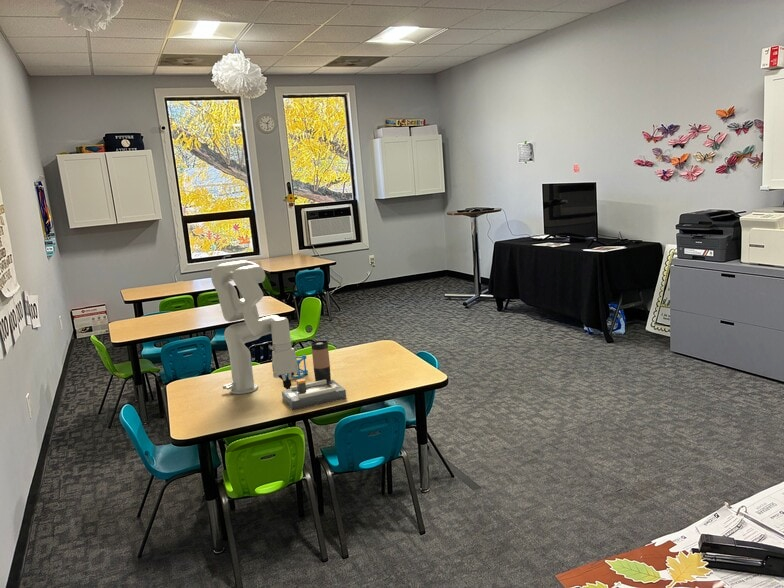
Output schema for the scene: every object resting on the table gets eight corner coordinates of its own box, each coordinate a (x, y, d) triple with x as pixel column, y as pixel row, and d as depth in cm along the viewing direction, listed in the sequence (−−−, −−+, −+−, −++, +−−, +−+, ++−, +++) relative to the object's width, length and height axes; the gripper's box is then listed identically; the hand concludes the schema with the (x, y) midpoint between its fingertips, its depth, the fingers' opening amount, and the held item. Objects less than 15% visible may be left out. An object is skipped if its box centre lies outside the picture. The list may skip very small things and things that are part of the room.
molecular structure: (282, 380, 287) (279, 360, 286) (290, 373, 297) (288, 354, 295) (301, 380, 285) (299, 360, 283) (308, 373, 294) (306, 354, 293)
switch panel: (292, 410, 246) (291, 398, 245) (282, 399, 260) (281, 387, 259) (346, 398, 256) (345, 386, 255) (333, 388, 270) (332, 376, 269)
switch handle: (299, 393, 253) (298, 381, 252) (297, 391, 256) (296, 379, 255) (306, 392, 254) (305, 380, 253) (304, 390, 257) (303, 378, 256)
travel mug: (334, 381, 280) (330, 340, 276) (328, 386, 273) (323, 344, 269) (319, 380, 282) (315, 340, 278) (312, 386, 275) (308, 344, 271)
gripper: (266, 351, 242) (272, 394, 245) (302, 345, 248) (307, 386, 251) (262, 348, 249) (268, 390, 252) (297, 341, 255) (302, 382, 258)
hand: (287, 388), depth 251 cm, fingers closed
